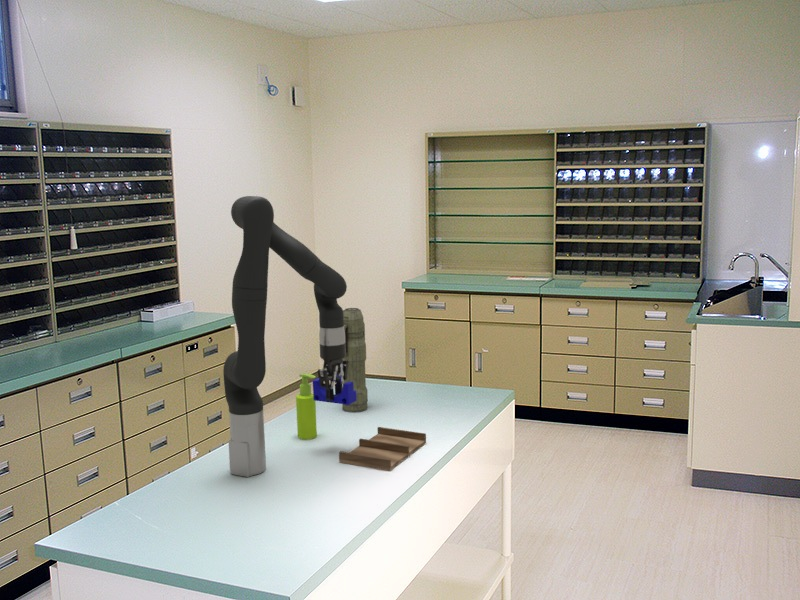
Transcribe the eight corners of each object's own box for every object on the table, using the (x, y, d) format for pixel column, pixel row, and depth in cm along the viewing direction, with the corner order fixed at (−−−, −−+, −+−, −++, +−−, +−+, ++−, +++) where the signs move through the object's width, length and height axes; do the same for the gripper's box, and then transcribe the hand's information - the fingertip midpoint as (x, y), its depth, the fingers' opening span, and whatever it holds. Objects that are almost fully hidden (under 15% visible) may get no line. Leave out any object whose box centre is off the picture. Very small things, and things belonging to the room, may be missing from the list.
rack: (389, 470, 214) (389, 460, 213) (339, 462, 221) (339, 452, 220) (426, 443, 235) (425, 433, 235) (378, 436, 242) (378, 426, 242)
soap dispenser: (310, 441, 239) (307, 377, 235) (293, 437, 243) (291, 374, 240) (323, 436, 243) (320, 373, 240) (307, 432, 247) (304, 370, 244)
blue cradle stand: (356, 400, 229) (355, 380, 228) (348, 404, 225) (347, 384, 224) (321, 396, 234) (321, 376, 233) (313, 400, 230) (312, 380, 229)
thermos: (334, 411, 268) (331, 311, 262) (352, 402, 278) (349, 305, 272) (357, 415, 264) (354, 312, 258) (374, 405, 274) (371, 307, 268)
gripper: (330, 347, 219) (333, 406, 221) (355, 337, 231) (357, 393, 234) (308, 345, 222) (310, 403, 225) (333, 335, 234) (336, 390, 237)
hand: (334, 398), depth 229 cm, fingers closed on blue cradle stand, 4 cm apart
